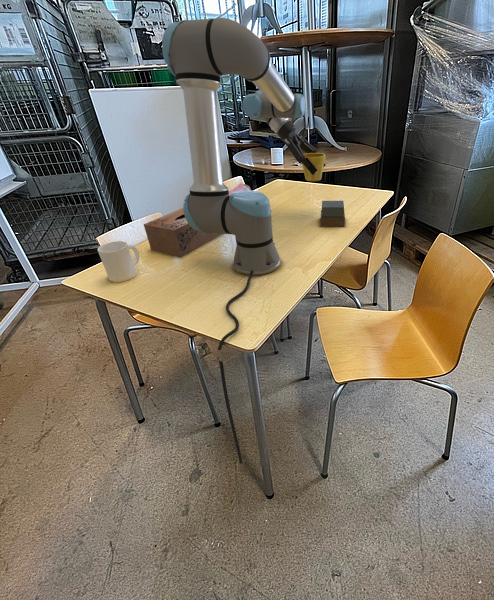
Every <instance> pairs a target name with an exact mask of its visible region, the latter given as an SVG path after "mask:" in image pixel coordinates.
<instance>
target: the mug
mask: <svg viewBox="0 0 494 600" xmlns="http://www.w3.org/2000/svg"><path fill="white" fill-rule="evenodd" d="M131 250H132V252H133V253H134V259H133V255H132V253H131ZM97 252H98V255H99V257H100V258H99V259H100V260H101V263H102V265H103V268H104V270H105V273H106V276H107V278H108V279H109V280H110V281H111V282H113V283H123V282H127V281H129V280H132V279H134V278H135V277H136V276H137V273H138V271H137V268H136V265H137V264H138V262H139V260H140V251H139V249H138V248H137V247H136V245H134V244H131V243H128V242H127V241H123V240H117V241H116V240H115V241H110V242H106V243H103V244H101V245H99V247H97Z"/></svg>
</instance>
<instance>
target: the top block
mask: <svg viewBox="0 0 494 600" xmlns="http://www.w3.org/2000/svg"><path fill="white" fill-rule="evenodd" d="M321 210H322V217H344V213H345V202H344V200H322V201H321Z"/></svg>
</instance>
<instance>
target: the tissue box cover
mask: <svg viewBox="0 0 494 600" xmlns="http://www.w3.org/2000/svg"><path fill="white" fill-rule="evenodd" d="M143 228H144V231H145V234H146V237H147V242H148V244H149V248H150V250H151V251H152V252H157V253H161V254H166V255H170V256H172V257H173V256H174V257H177V258H182V257H184V256H186V255H188V254H190V253H191V252H193V251H195V250H197V249H198V248H200V247H202V246H204V245H205V244H208V243H209V242H210V241H213V240H215V239H216V238H218V237H220V236H222V234H221V233H205V232H201V231H196V230H194V229H193V228H192V227H191V226H190V225H189V224H188V222H187V220H186V218H185V215H184V210H183V207H182V208H179V209H178V210H175V211H172V212H170V213H168V214H167V213H166V214H165V215H163V216H161V217H160V216H159V217H158V218H155V219H153V220H150V221H148V222H146V223H144V224H143Z"/></svg>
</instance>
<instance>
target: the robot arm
mask: <svg viewBox="0 0 494 600" xmlns="http://www.w3.org/2000/svg"><path fill="white" fill-rule="evenodd" d="M161 42H162V43H161V49H162V57H163V60H164V63H165V64H166V68H167V69H168V71H169V72H170V74H172V75H173V76H174V77H175V81H176V84H177V85H178V86H179V87H180V88H181V89H182V93H183V101H184V108H185V109H184V110H185V118H186V126H187V135H188V136H187V137H188V144H189V152H190V162H191V170H192V178H193V184H192V185H191V186H190V187H189V194H187V195H186V196H185V197H184V202H183V206H182V208H183V210H184V215H185V218H186V220H187V222H188V224H189V225H190V226H191V227H192V228H193V229H194V230H196V231H201V232H205V233H221V235H233V236H234V237H235V243H236V247H235V252H234V255H233V268H234V270H235V271H236V272H237V273H239V274H241V275H245V276H248V278H247V281H246V284H245V287H244V288H243V290H242V291H240V292H239V293H238V294H236V295H234V296H233V297H232V298H231V299H229V300H228V302H227V303H226V305H225V311H226V313H227V314H228V316H229V317H230V318H231V319H232V320H233V321H234V323H235V326H234V329H232V330H230V331H229V332H228V333H226V334H224V336H223V337H222V338H221V339H220V341H219V343H218V346H217V351H221V350H222V348H223V345H224V343H225V341H226V340H227V339H228V338H229V337H231V336H232V335H234V334H235V333H237V332H238V330H239V328H240V321H239V319H238V318H237V317H236V316H235V315H234V313H232V311H231V310H230V305H231V304H232V303H233V302H234V301H235V300H237V299H239V298H240V297H241V296H243V295H244V294H245V293H246V292H247V290H249V286H250V282H251V281H252V280H251V279H252V276H263V275H267V274H271V273H272V272H275V271H276V270H278V269H279V268H280V266H281V258H280V254H279V252H278V250H277V247H276V245H275V242H274V236H273V223H272V221H273V220H272V208H271V204H270V199H269V197H268V196H266V195H265V193H262V192H260V191H256V190H252V189H251V190H244V191H243V190H238V191H234V192H232V193H231V194H230V196H229V191H230V190H229V187H228V186H227V185H226V184H225V183H224V177H223V166H222V165H223V164H222V153H221V140H220V139H221V137H220V128H219V127H220V126H219V116H218V104H217V103H218V102H217V101H218V100H217V90H218V89H219V88H220V87H221V85H222V83H221V76H227V75H231V76H232V75H235V76H240V77H242V78H243V79H244V80H246V81H248V82H251V83H253V84H254V86H255V87H256V88H257V89H258V90H257V91H255V92H254V93H249V94H247V95H246V96H245V97H244V98H243V100H242V110H243V112H244V114H245V115H246V116H247V117H249V118H251V119H263V120H264V121H265V123H266V124H267V125H268V126H269V127H270V130H271V131H273V132H274V133H275V134H276V135H277V137H278V138H279V139H280V140H281V141H282V142H283V143H284V145H286V147H287V148H288V149H289V151H290V153H291V154H292V156H293V157H294V159H295V160H296V161H297V163H298V164H299V165H301V162H302V163H303V164H304V166H305V167H306V168H307V169H308V170H309V171H310V173H311V174H312V175H314V174H315V173H316V172H317V169H316V167H315V166H314V165H313V164H312V163H311V162H310V160H309V159H308V158H307V157H306V158H305V156H304V154H307V153H318V149H316V148H315V147H314V146H313V145H312V144H311V143H310V142H309V141H308V140H307V139H306V138H305V137H304V136H303V135H302V134H301V133H298V134H297V133H296V128H297V127H296V125H295V124H294V123H293V122H292V121H291V120H290V119H297V118H300V119H301V118H303V116H304V115H305V114H306V100H305V96H304V94H302V93H296V92H295V93H293V91H292V90H291V89H290V87H289V86H288V84H287V83H286V81H285V80H284V79H283V77H282V75H281V74H280V72H279V71H278V69H277V68H276V66H275V65H274V64H273V62H272V61H271V55H270V51H269V49H268V48H267V47H266V45H265V43H264V42H263V40H261V39H260V38H259V36H257V35H256V33H254V32H253V31H251V29H249V28H247V27H246V26H245V25H243V24H241V23H240V22H238V21H237V20H233V19H230V18H227V17H215V18H202V19H201V18H200V19H182V20H180V21H175V22H171V23H169V25H168V26H167V27H166V29H165V30H164V32H163V36H162V41H161ZM304 152H305V153H304ZM326 166H327V164H326V163H325V164H324V166H323V168H325V167H326ZM218 364H219V369H220V378H221V383H222V389H223V395H224V400H225V406H226V410H227V414H228V419H229V424H230V427H231V431H232V435H233V439H234V444H235V449H236V452H237V456H238V461H239V464H243V458H242V454H241V448H240V444H239V440H238V436H237V431H236V427H235V422H234V419H233V414H232V410H231V409H232V408H231V404H230V399H229V394H228V388H227V382H226V376H225V375H226V374H225V368H224V367H225V366H224V362H223V360H222V361H221V360H219V361H218Z"/></svg>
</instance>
